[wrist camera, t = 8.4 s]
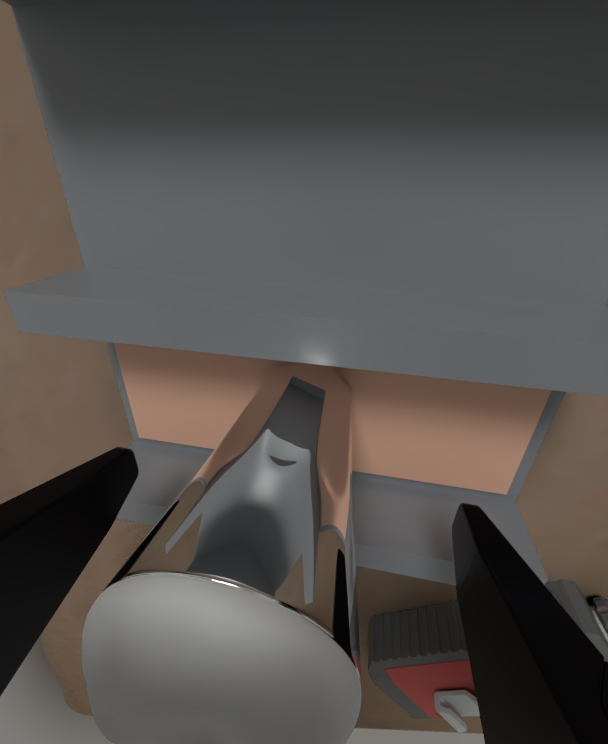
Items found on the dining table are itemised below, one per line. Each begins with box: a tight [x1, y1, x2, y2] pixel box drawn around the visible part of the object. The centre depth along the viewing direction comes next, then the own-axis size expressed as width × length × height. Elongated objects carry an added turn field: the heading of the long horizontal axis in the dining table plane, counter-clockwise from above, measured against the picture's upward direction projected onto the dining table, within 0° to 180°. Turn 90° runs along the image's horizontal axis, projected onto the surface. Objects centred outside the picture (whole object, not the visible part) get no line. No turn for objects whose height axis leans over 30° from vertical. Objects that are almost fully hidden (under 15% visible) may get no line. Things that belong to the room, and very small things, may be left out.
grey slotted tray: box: [2, 0, 608, 586], centre depth 10 cm, size 16×17×4 cm
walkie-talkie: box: [368, 580, 608, 733], centre depth 17 cm, size 9×4×20 cm
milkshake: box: [82, 362, 361, 744], centre depth 8 cm, size 4×5×10 cm
